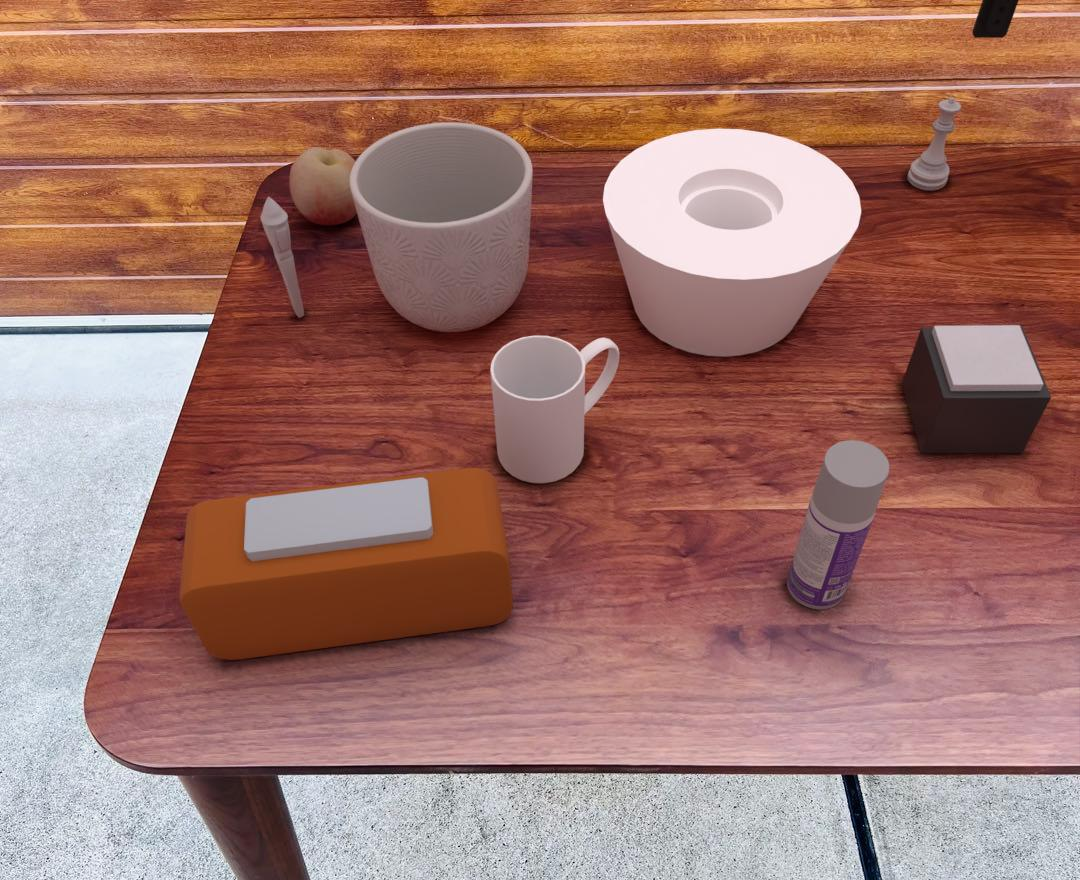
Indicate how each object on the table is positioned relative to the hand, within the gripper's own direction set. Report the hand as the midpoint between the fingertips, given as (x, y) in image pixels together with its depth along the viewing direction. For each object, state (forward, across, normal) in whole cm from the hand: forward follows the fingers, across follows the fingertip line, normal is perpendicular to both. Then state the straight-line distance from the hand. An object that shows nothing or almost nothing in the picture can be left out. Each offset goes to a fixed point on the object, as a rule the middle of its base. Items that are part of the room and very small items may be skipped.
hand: (976, 12), depth 101 cm
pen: (+20, -23, +68) cm, 75 cm away
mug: (+20, -41, +41) cm, 62 cm away
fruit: (+20, -6, +68) cm, 71 cm away
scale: (+19, -38, +4) cm, 43 cm away
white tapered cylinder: (+19, -21, +26) cm, 38 cm away
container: (+19, -57, +20) cm, 64 cm away
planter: (+20, -21, +52) cm, 60 cm away
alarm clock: (+20, -59, +57) cm, 84 cm away
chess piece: (+19, 0, -1) cm, 19 cm away
